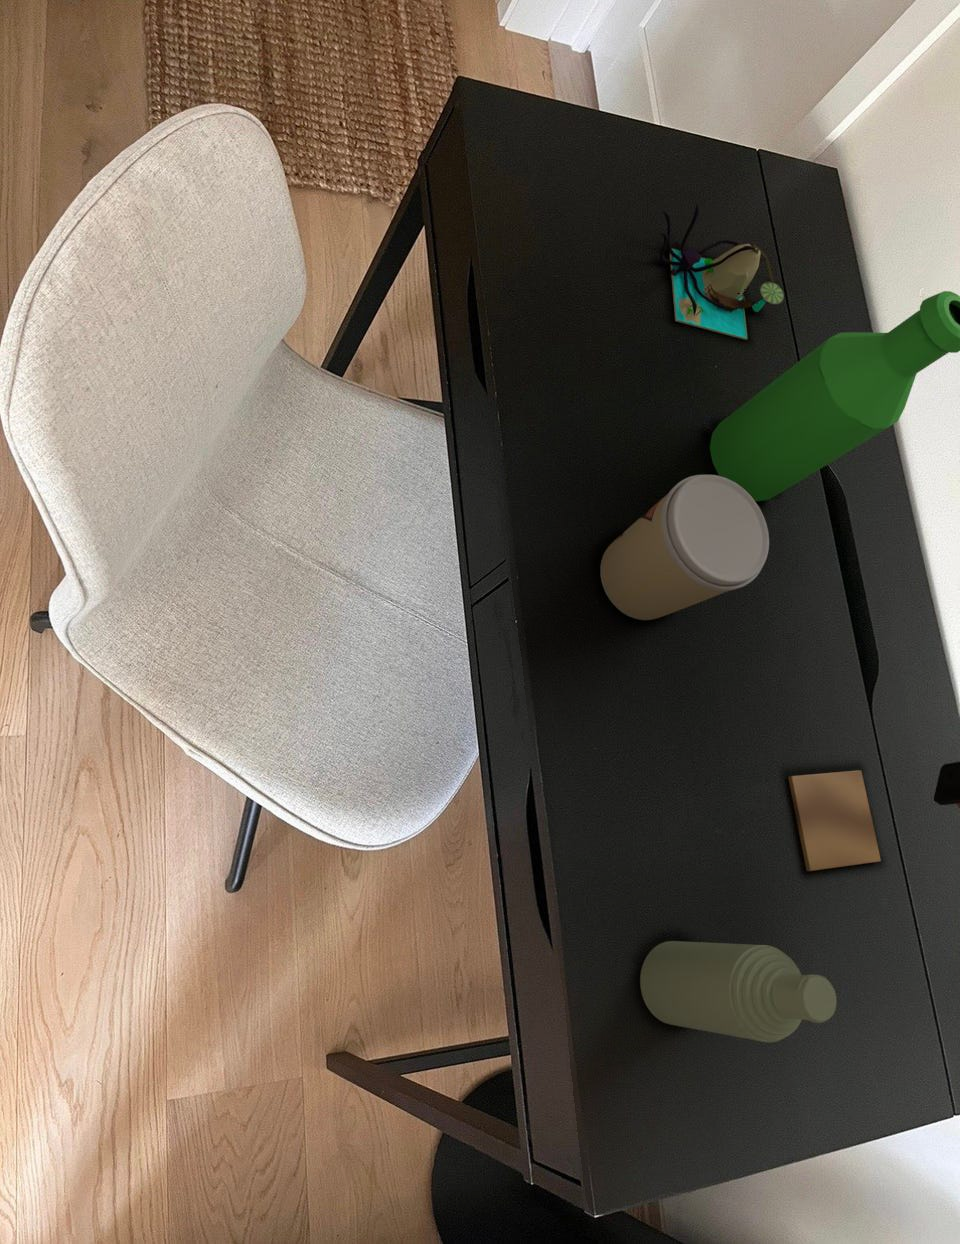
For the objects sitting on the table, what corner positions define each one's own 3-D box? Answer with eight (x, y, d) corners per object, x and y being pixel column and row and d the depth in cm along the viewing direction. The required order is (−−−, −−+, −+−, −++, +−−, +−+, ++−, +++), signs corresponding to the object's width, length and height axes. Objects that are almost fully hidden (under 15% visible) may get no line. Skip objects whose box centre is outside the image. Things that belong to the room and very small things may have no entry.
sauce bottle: (717, 1004, 72) (873, 1025, 58) (657, 1038, 69) (805, 1070, 55) (688, 928, 73) (834, 931, 58) (628, 960, 70) (766, 971, 56)
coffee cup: (666, 523, 83) (751, 466, 73) (696, 622, 81) (788, 578, 71) (578, 533, 79) (654, 475, 69) (608, 637, 77) (691, 593, 67)
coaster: (877, 861, 82) (881, 861, 81) (806, 871, 78) (810, 871, 78) (857, 770, 84) (861, 770, 83) (787, 776, 80) (791, 776, 80)
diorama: (767, 345, 95) (804, 314, 90) (641, 312, 89) (673, 277, 85) (756, 254, 98) (791, 219, 93) (634, 216, 93) (665, 177, 88)
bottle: (690, 431, 87) (894, 268, 65) (754, 413, 91) (967, 253, 69) (730, 515, 86) (951, 377, 64) (793, 493, 90) (1022, 356, 68)
